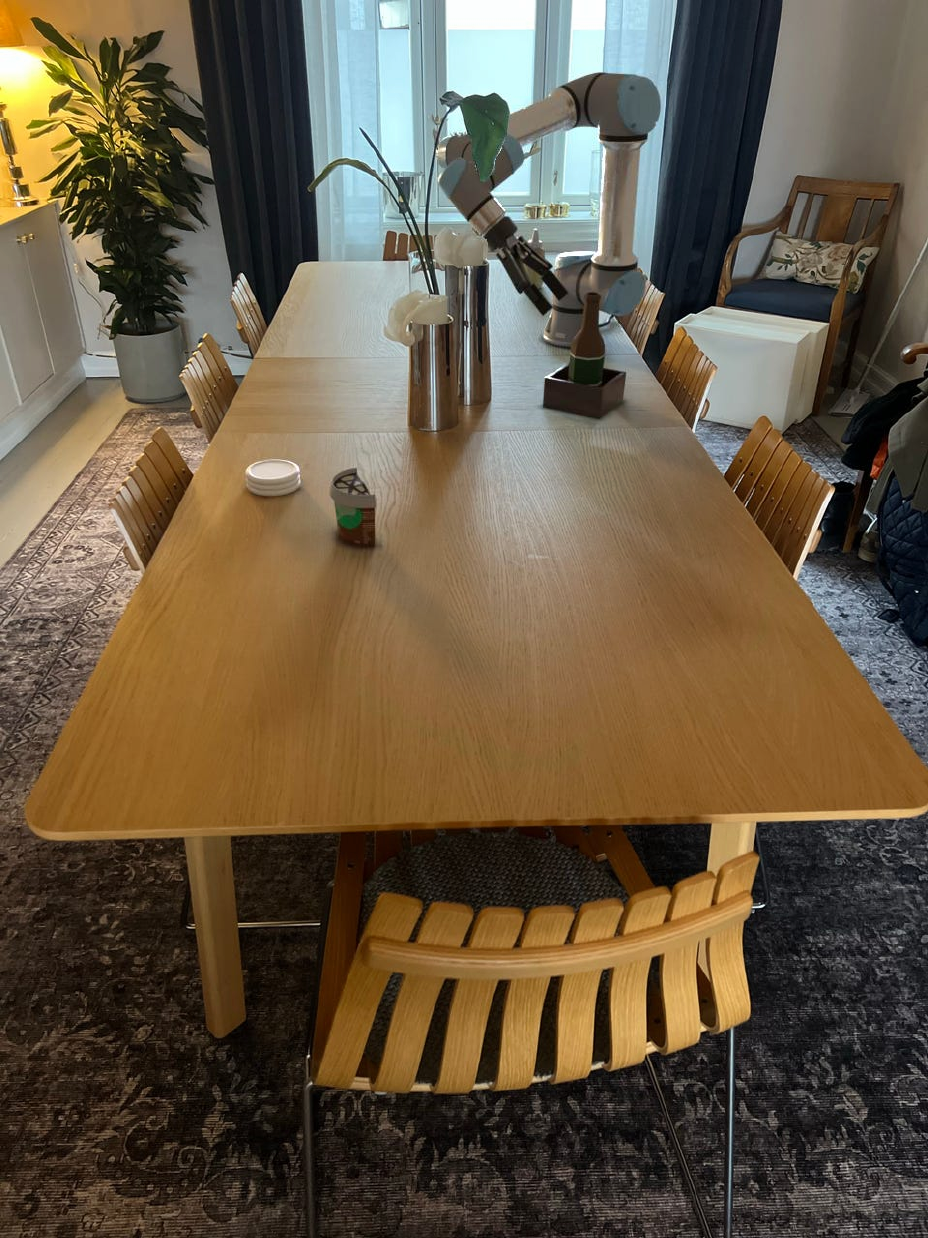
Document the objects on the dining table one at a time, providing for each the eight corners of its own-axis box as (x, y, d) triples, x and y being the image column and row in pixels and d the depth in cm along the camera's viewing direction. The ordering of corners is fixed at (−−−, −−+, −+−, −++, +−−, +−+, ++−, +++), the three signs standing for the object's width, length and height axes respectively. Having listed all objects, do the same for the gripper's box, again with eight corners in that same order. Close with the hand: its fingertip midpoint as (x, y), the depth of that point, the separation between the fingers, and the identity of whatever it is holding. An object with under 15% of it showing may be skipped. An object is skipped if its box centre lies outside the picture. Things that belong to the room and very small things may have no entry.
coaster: (309, 479, 183) (307, 462, 181) (287, 500, 175) (285, 483, 173) (261, 472, 185) (259, 455, 183) (237, 493, 177) (235, 476, 175)
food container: (324, 523, 168) (320, 470, 162) (358, 518, 170) (355, 466, 164) (341, 555, 158) (338, 500, 153) (377, 550, 160) (376, 495, 155)
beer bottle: (599, 395, 224) (610, 289, 211) (600, 406, 217) (611, 298, 204) (566, 393, 224) (574, 288, 211) (566, 404, 218) (574, 297, 205)
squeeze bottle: (549, 286, 314) (553, 228, 304) (537, 291, 308) (541, 232, 298) (527, 283, 318) (530, 225, 308) (515, 288, 312) (518, 229, 302)
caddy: (568, 390, 229) (570, 361, 225) (623, 401, 224) (626, 371, 220) (542, 407, 219) (544, 377, 215) (599, 419, 213) (602, 389, 209)
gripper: (499, 227, 220) (557, 301, 224) (463, 249, 200) (528, 329, 204) (522, 204, 215) (582, 280, 219) (488, 224, 196) (554, 306, 200)
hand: (556, 304), depth 212 cm, fingers open, 13 cm apart
